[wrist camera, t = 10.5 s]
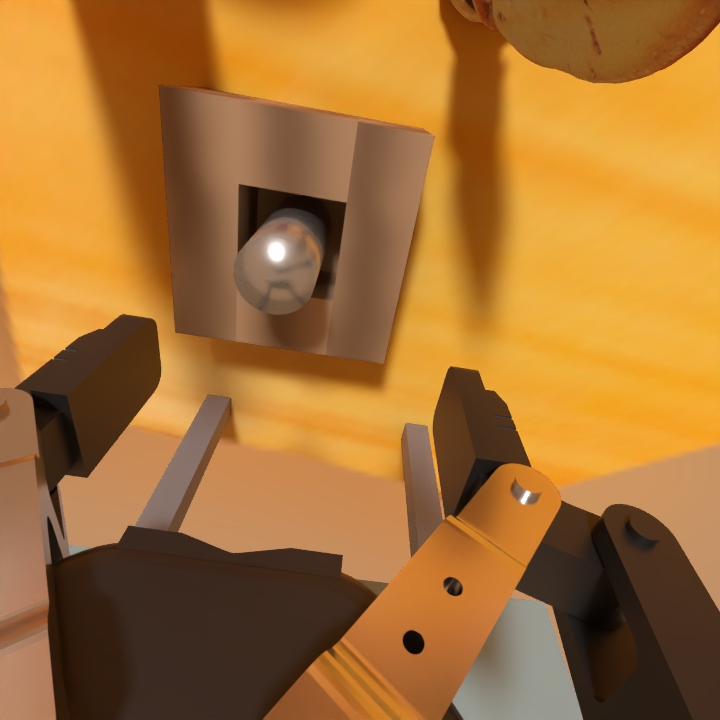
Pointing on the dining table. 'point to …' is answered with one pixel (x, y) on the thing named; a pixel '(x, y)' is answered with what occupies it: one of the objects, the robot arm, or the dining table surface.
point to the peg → (284, 256)
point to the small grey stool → (501, 649)
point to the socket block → (266, 192)
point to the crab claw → (598, 33)
